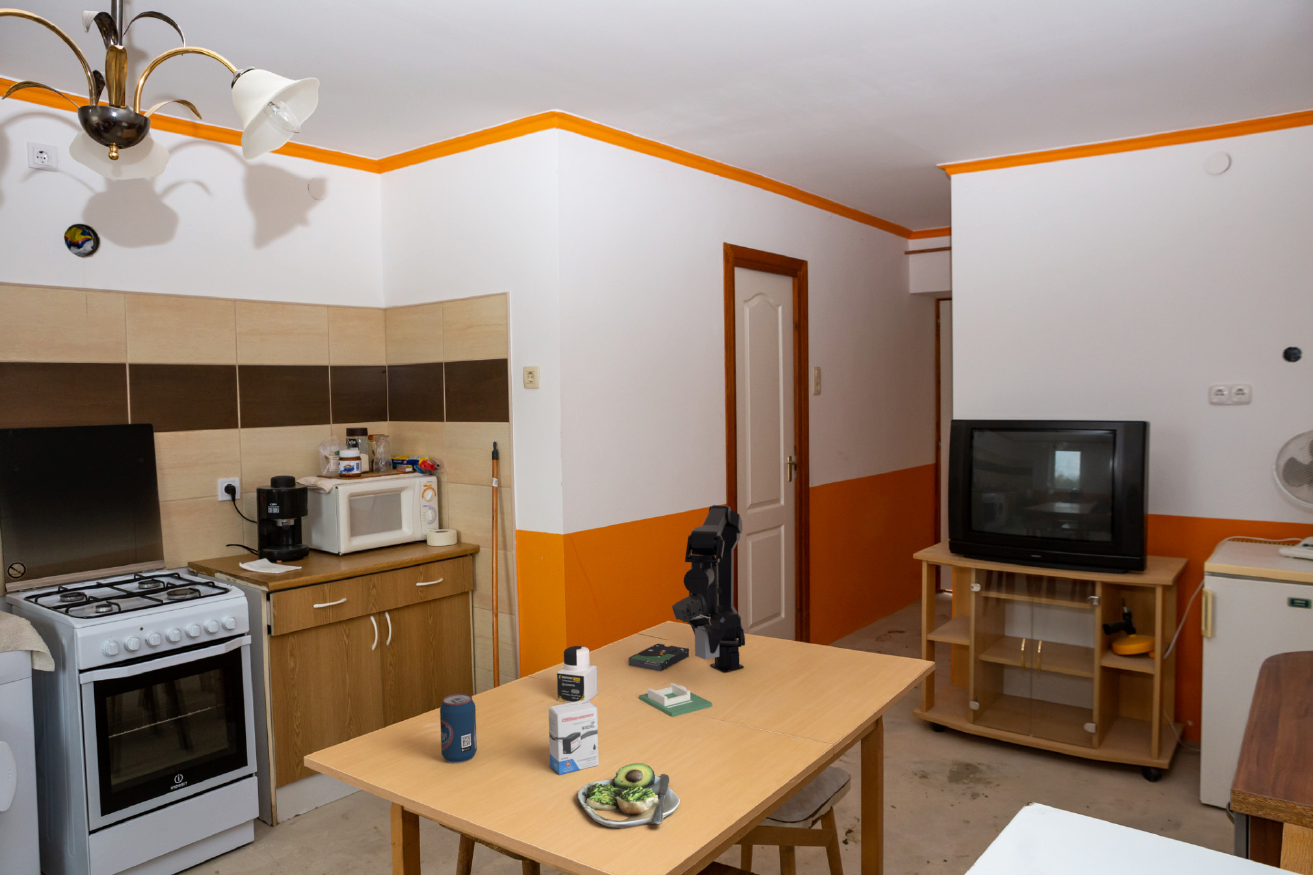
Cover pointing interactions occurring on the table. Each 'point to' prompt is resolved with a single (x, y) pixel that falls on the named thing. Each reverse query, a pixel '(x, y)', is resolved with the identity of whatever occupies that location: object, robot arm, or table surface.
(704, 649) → the plug
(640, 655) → the disk drive
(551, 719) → the ink box
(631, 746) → the table surface
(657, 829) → the table surface
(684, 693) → the board
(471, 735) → the soda can
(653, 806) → the avocado toast plate
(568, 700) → the medicine bottle
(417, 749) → the table surface
